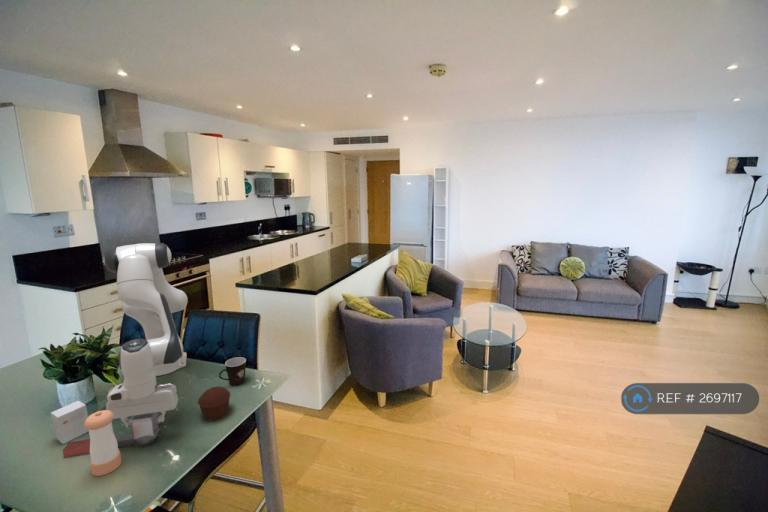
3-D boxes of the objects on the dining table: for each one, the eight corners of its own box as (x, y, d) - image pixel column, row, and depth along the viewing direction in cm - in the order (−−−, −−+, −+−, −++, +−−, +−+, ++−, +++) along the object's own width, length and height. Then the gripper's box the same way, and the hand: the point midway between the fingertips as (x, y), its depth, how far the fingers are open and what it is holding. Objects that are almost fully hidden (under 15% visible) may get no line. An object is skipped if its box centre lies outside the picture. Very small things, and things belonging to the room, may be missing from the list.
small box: (83, 425, 125) (79, 399, 123) (91, 430, 122) (86, 404, 120) (55, 439, 118) (49, 412, 116) (62, 445, 115) (57, 417, 113)
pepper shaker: (116, 472, 104) (107, 416, 100) (87, 478, 102) (77, 422, 98) (125, 455, 111) (117, 402, 107) (98, 461, 108) (88, 407, 105)
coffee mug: (245, 375, 160) (244, 355, 158) (248, 384, 152) (247, 363, 150) (218, 382, 154) (216, 361, 152) (220, 391, 146) (218, 370, 145)
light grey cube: (140, 428, 119) (138, 410, 118) (159, 425, 121) (156, 407, 120) (134, 439, 114) (131, 420, 113) (153, 435, 116) (151, 417, 114)
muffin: (210, 403, 138) (208, 381, 136) (236, 404, 138) (235, 382, 136) (192, 422, 127) (190, 398, 125) (221, 424, 126) (219, 399, 124)
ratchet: (73, 446, 115) (70, 430, 113) (162, 430, 122) (161, 416, 121) (60, 461, 108) (57, 445, 107) (156, 444, 116) (154, 428, 115)
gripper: (178, 377, 120) (182, 412, 123) (109, 387, 114) (115, 423, 117) (173, 387, 114) (177, 424, 117) (100, 397, 108) (106, 435, 111)
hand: (146, 423), depth 117 cm, fingers open, 8 cm apart
